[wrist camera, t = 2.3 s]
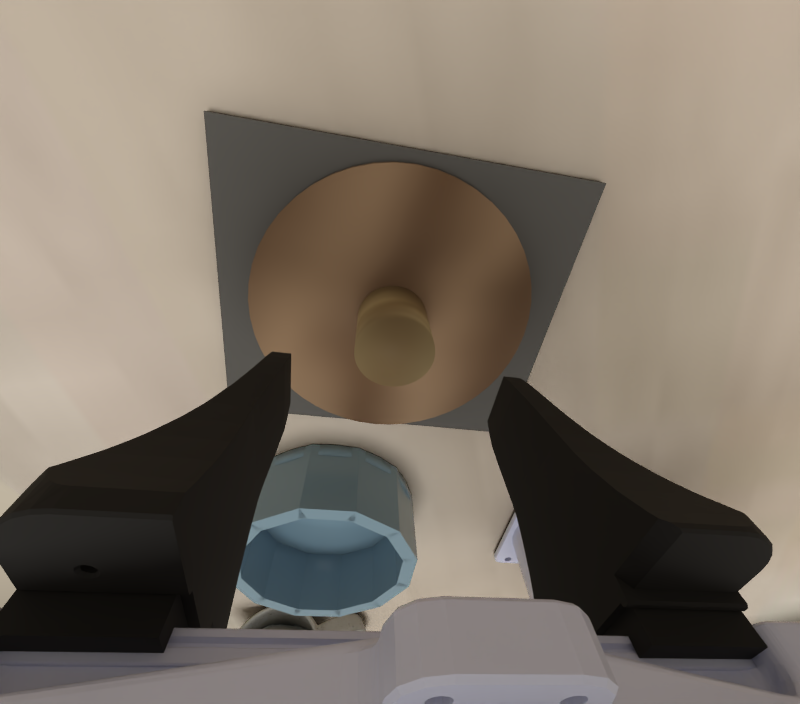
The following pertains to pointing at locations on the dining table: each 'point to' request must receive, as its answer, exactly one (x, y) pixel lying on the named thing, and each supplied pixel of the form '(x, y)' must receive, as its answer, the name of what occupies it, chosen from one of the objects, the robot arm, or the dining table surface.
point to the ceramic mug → (301, 622)
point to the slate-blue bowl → (329, 533)
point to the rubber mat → (328, 153)
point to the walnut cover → (390, 292)
